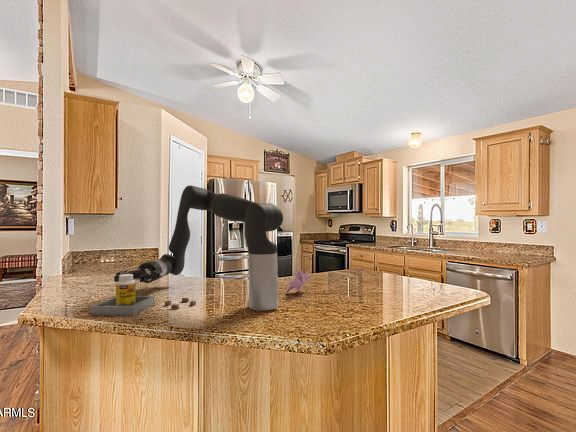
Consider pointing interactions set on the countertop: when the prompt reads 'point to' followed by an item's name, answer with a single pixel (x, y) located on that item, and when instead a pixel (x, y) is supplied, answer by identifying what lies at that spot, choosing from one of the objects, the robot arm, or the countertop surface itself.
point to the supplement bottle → (125, 290)
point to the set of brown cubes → (176, 306)
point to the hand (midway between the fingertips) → (128, 279)
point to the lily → (298, 281)
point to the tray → (122, 307)
